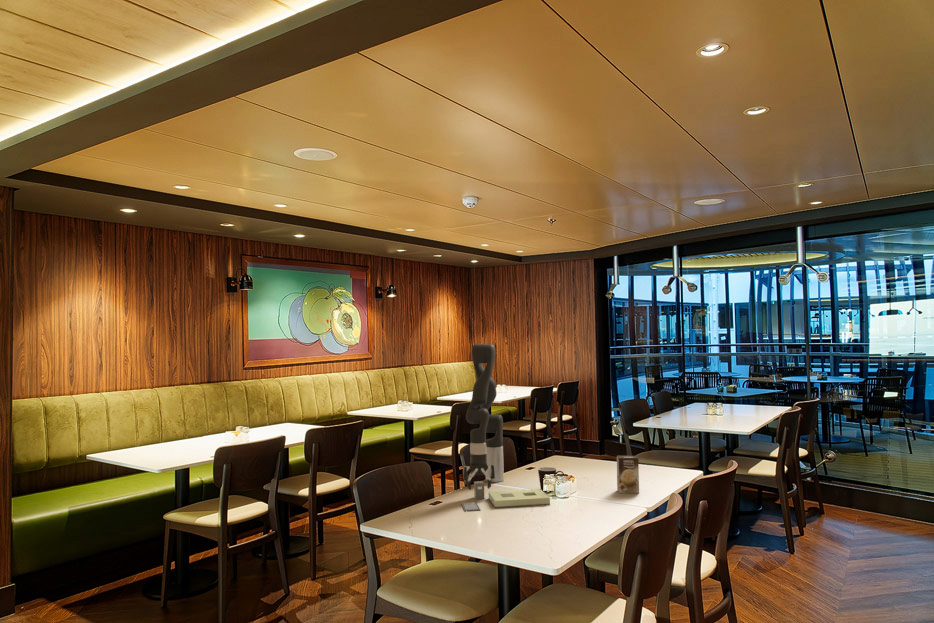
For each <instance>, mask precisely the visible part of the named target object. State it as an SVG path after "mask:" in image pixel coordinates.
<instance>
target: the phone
mask: <svg viewBox="0 0 934 623" xmlns="http://www.w3.org/2000/svg"><path fill="white" fill-rule="evenodd" d="M460 505H461V506H462V509H463V511H464V512H466V511H467V512H481V508H480V506H479V505H478V503H477V501H465V502H464V501H463V502H460Z"/></svg>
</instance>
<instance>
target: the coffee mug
mask: <svg viewBox="0 0 934 623" xmlns="http://www.w3.org/2000/svg"><path fill="white" fill-rule="evenodd" d="M537 471H538V472H537V473H538V478H539V485H540V489H541V490H542V491H543V478H544V475H545V474H557V475H558V473H561V474H562V476H563V475H564V476H565V474H564V472H563V471H562V470H558V471H557V468H556V467H550V466H544V467H543V466H542V467H539V468H537Z"/></svg>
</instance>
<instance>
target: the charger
mask: <svg viewBox="0 0 934 623" xmlns="http://www.w3.org/2000/svg"><path fill="white" fill-rule="evenodd" d="M473 488H474V489H473V492H474V493H473V494H474V499H475V500H484V499H485V482H484V481H482V480H480V481H479V480H477V481H473Z"/></svg>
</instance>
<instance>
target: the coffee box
mask: <svg viewBox="0 0 934 623" xmlns="http://www.w3.org/2000/svg"><path fill="white" fill-rule="evenodd" d="M639 469H640V468H639V457H638V456H636V455H616V480H617V481H616V484H617V486H616V487H617V488H616V489H617V492H618V493H619V494H640V475H639V474H640V473H639Z"/></svg>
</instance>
